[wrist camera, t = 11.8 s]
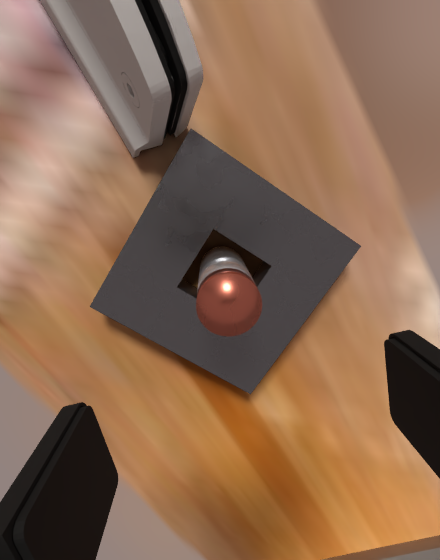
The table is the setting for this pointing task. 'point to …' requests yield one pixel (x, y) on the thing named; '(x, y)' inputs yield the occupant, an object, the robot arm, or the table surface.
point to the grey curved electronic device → (134, 63)
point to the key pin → (226, 293)
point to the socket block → (243, 231)
